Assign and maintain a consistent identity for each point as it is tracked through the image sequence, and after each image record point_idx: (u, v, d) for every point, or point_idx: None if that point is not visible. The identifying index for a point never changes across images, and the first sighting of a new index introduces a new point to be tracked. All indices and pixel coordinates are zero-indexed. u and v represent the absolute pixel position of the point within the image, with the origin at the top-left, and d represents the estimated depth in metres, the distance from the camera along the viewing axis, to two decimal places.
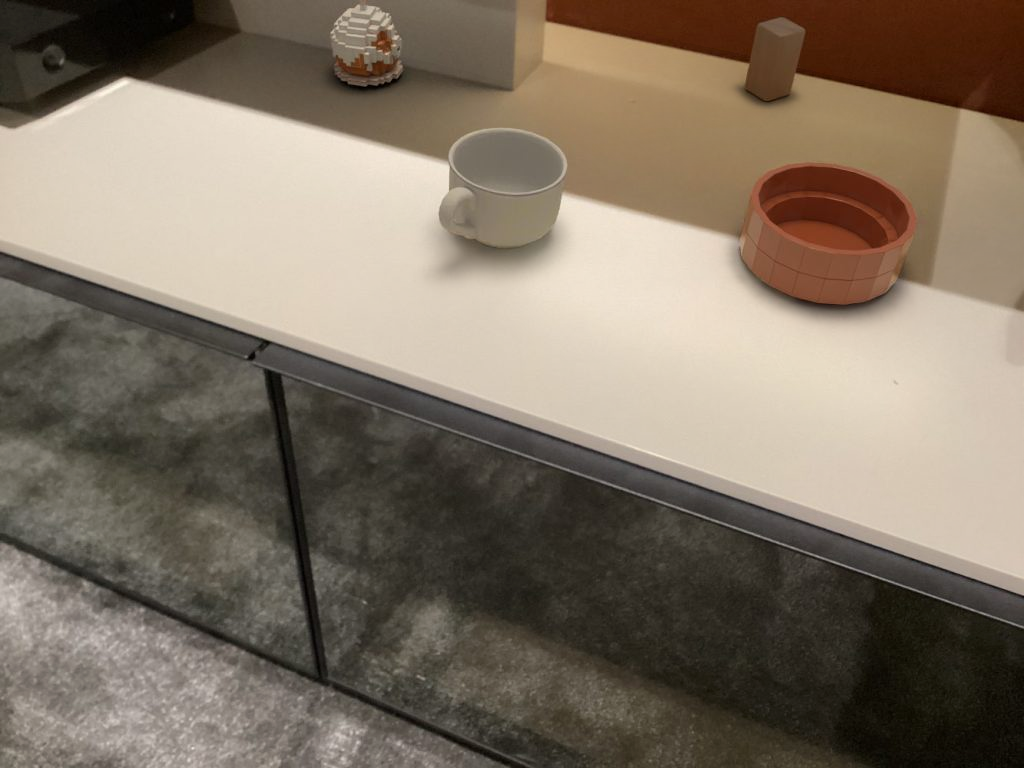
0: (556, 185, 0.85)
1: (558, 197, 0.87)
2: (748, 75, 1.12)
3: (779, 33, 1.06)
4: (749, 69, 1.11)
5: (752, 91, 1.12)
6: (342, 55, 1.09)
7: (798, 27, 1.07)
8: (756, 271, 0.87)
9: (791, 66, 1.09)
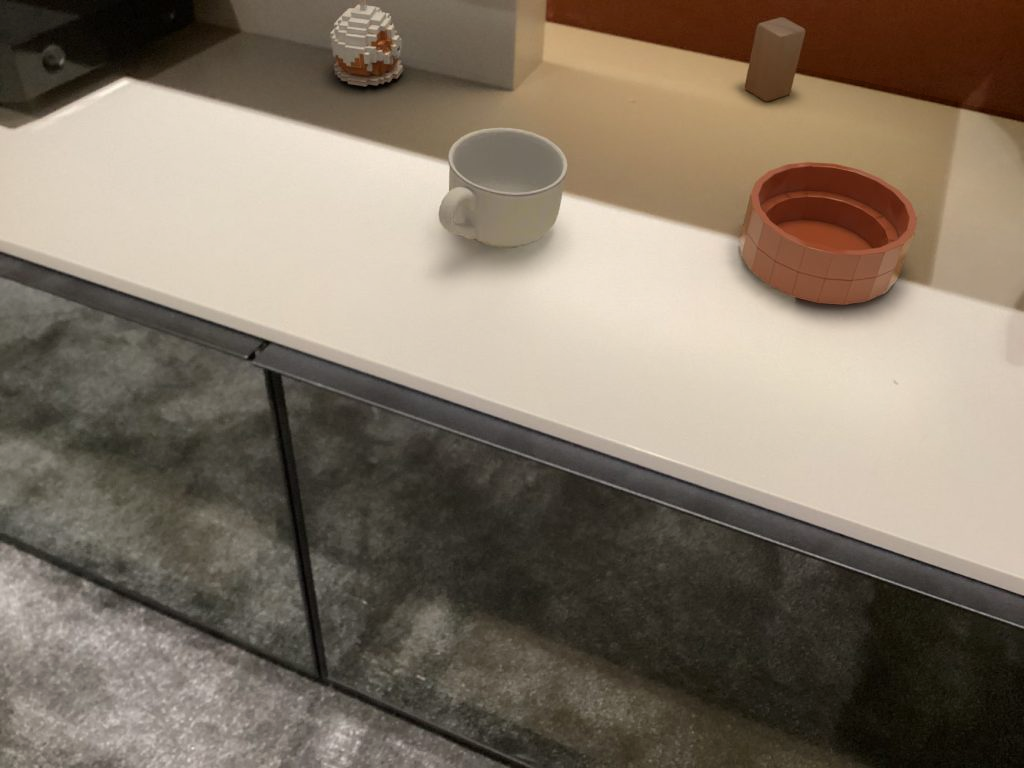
0: (556, 185, 0.85)
1: (558, 197, 0.87)
2: (748, 75, 1.12)
3: (779, 33, 1.06)
4: (749, 69, 1.11)
5: (752, 91, 1.12)
6: (342, 55, 1.09)
7: (798, 27, 1.07)
8: (756, 271, 0.87)
9: (791, 66, 1.09)
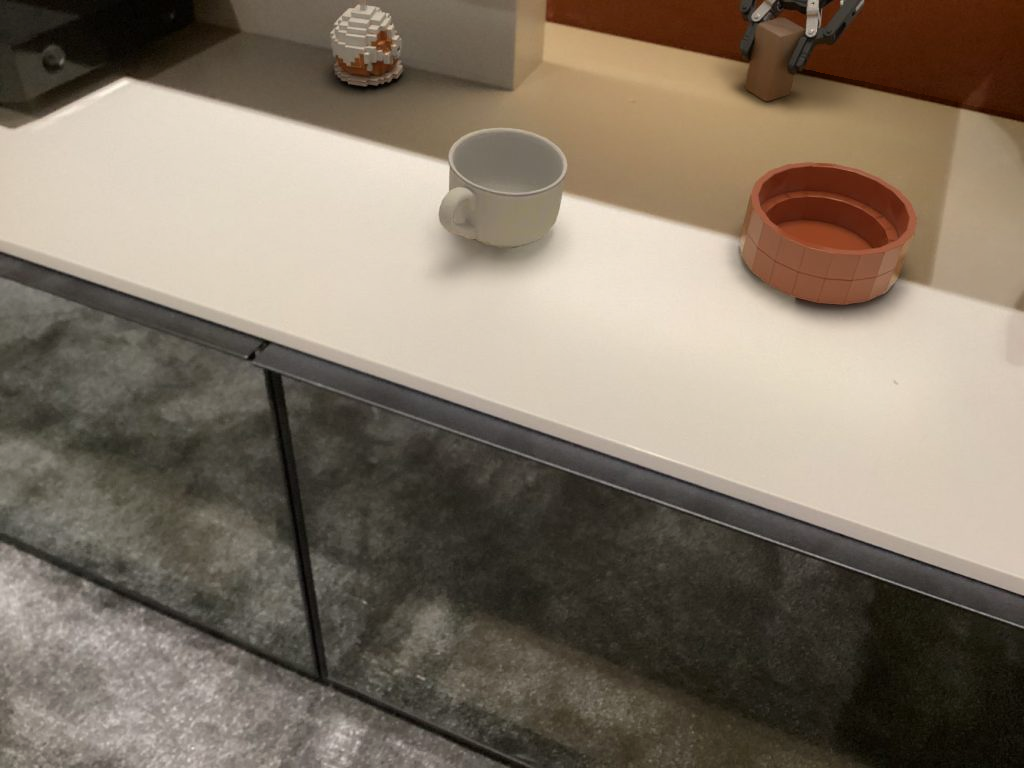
0: (556, 185, 0.85)
1: (558, 197, 0.87)
2: (748, 75, 1.12)
3: (779, 33, 1.06)
4: (749, 69, 1.11)
5: (752, 91, 1.12)
6: (342, 55, 1.09)
7: (798, 27, 1.07)
8: (756, 271, 0.87)
9: None
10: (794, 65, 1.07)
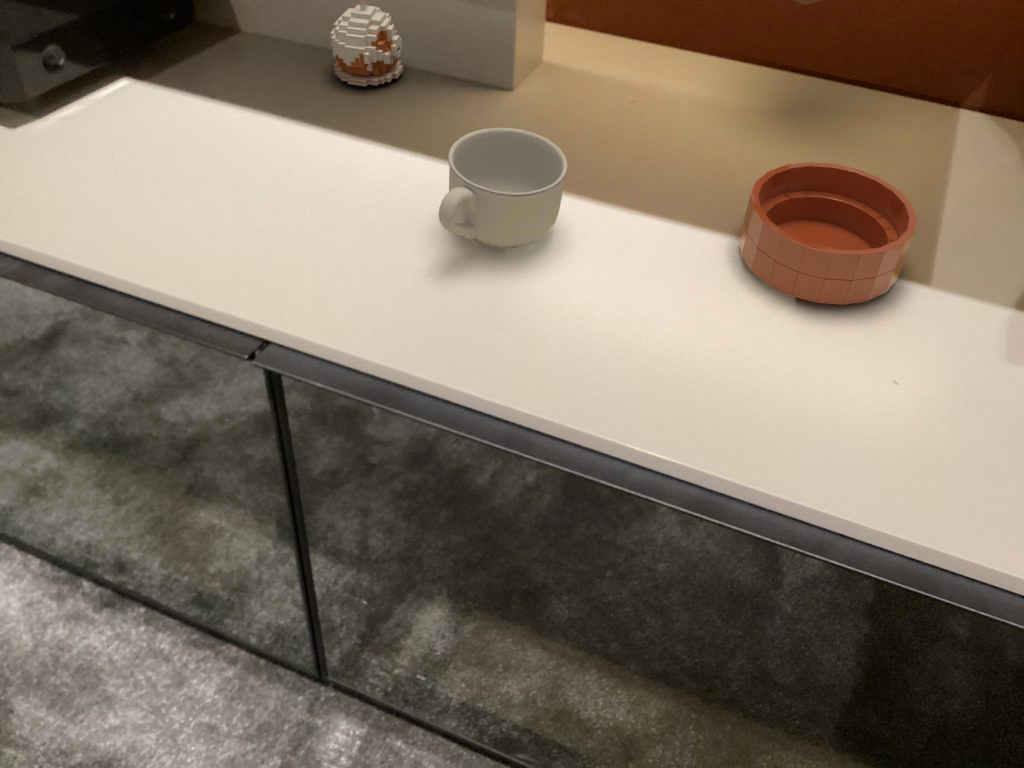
0: (556, 185, 0.85)
1: (558, 197, 0.87)
2: None
3: None
4: None
5: None
6: (342, 55, 1.09)
7: None
8: (756, 271, 0.87)
9: None
10: None
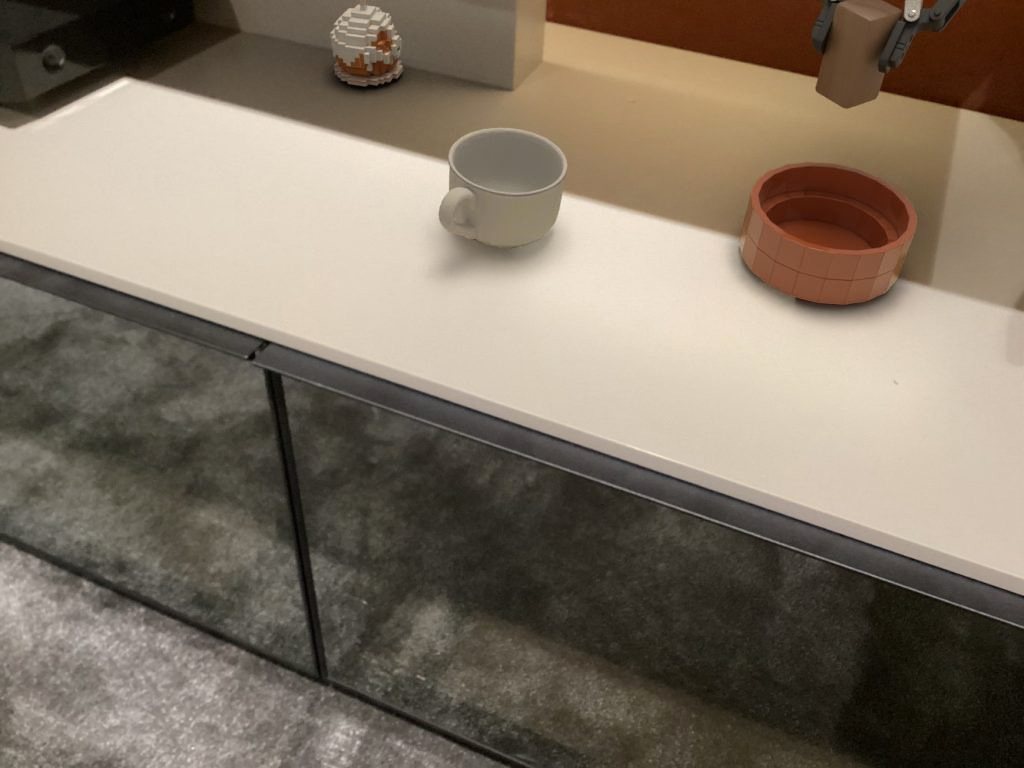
0: (556, 185, 0.85)
1: (558, 197, 0.87)
2: (821, 74, 0.83)
3: (868, 16, 0.77)
4: (823, 66, 0.83)
5: (826, 95, 0.84)
6: (342, 55, 1.09)
7: (893, 8, 0.78)
8: (756, 271, 0.87)
9: None
10: (888, 60, 0.78)
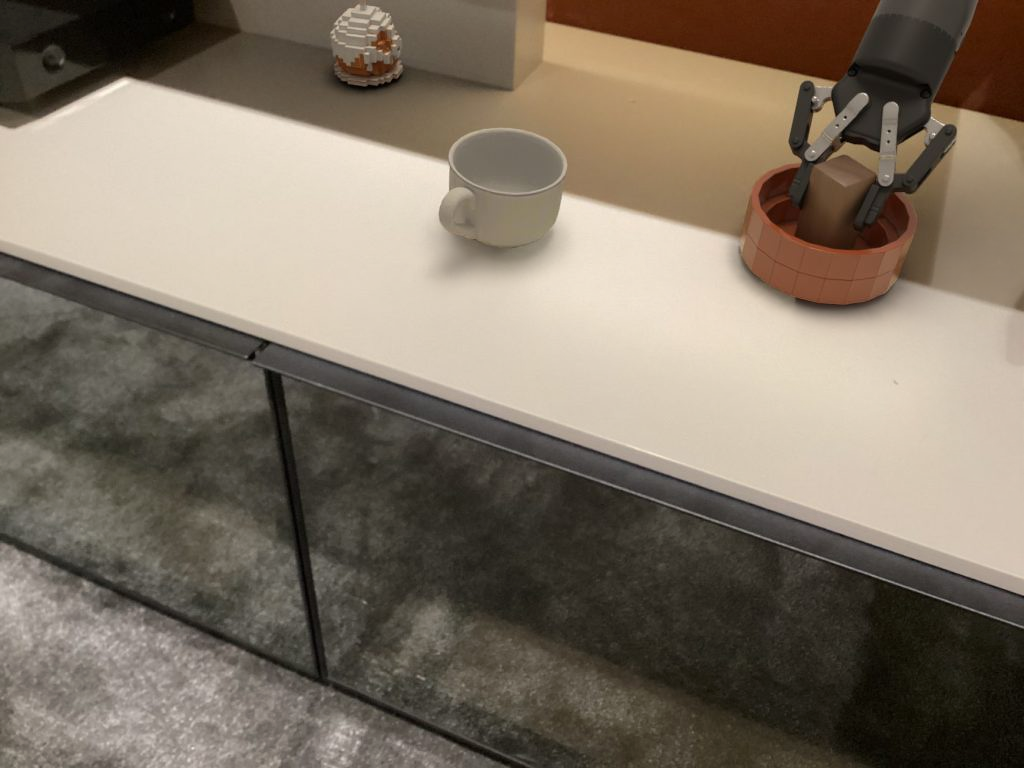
0: (556, 185, 0.85)
1: (558, 197, 0.87)
2: (799, 226, 0.86)
3: (843, 182, 0.80)
4: (800, 219, 0.85)
5: None
6: (342, 55, 1.09)
7: (867, 171, 0.81)
8: (756, 271, 0.87)
9: None
10: (863, 222, 0.81)
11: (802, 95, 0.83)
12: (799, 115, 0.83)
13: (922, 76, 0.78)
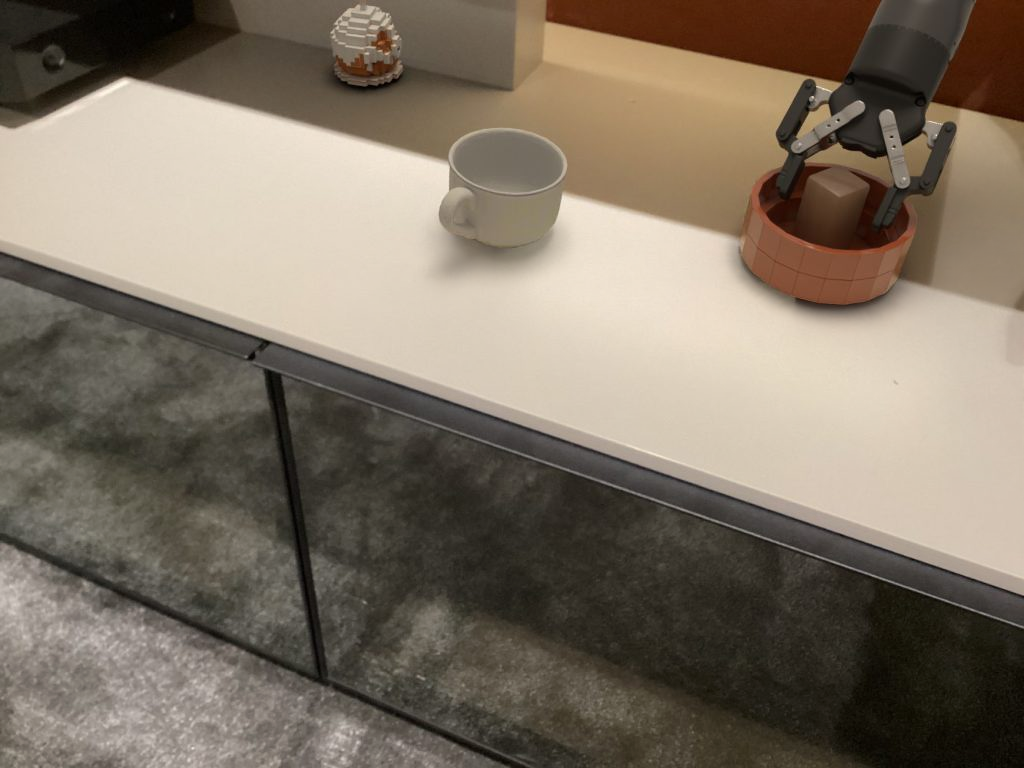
0: (556, 185, 0.85)
1: (558, 197, 0.87)
2: (794, 234, 0.88)
3: (837, 192, 0.83)
4: (795, 228, 0.88)
5: None
6: (342, 55, 1.09)
7: (861, 182, 0.84)
8: (756, 271, 0.87)
9: (850, 227, 0.86)
10: (880, 224, 0.82)
11: (802, 91, 0.86)
12: (793, 110, 0.86)
13: (917, 85, 0.81)
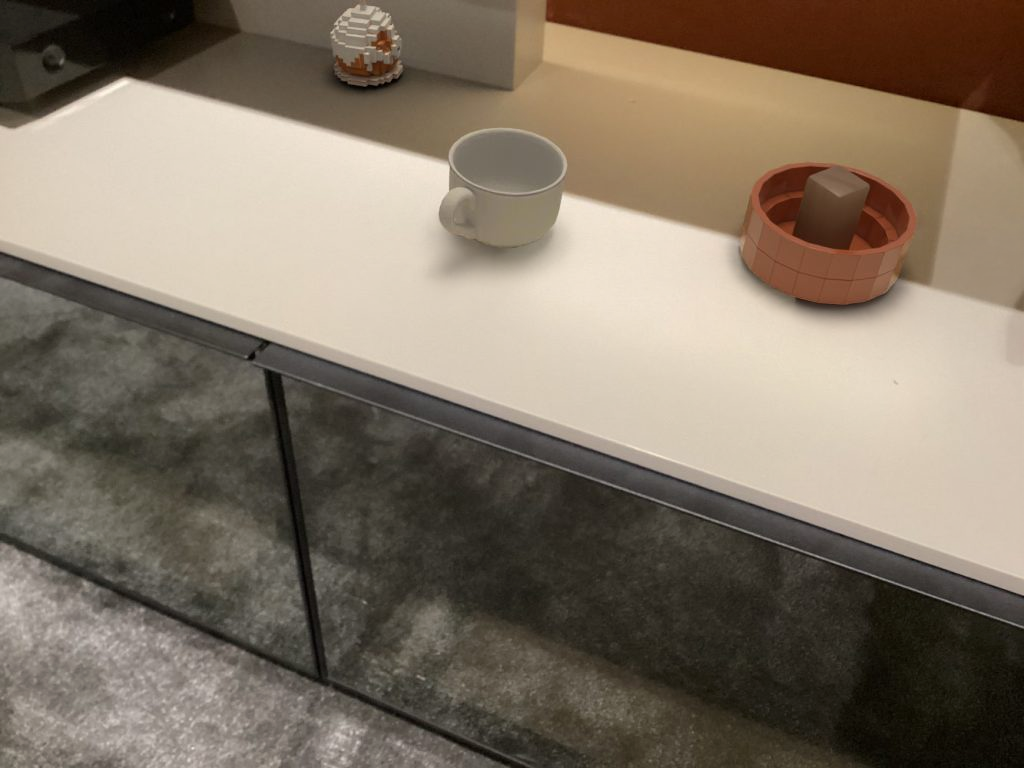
0: (556, 185, 0.85)
1: (558, 197, 0.87)
2: (794, 234, 0.88)
3: (837, 192, 0.83)
4: (795, 228, 0.88)
5: None
6: (342, 55, 1.09)
7: (861, 182, 0.84)
8: (756, 271, 0.87)
9: (850, 227, 0.86)
10: None
11: None
12: None
13: None
